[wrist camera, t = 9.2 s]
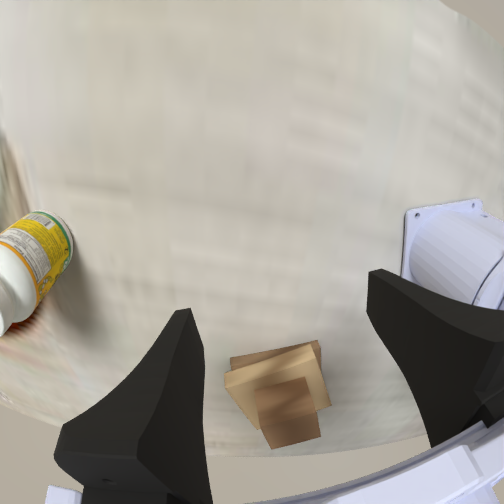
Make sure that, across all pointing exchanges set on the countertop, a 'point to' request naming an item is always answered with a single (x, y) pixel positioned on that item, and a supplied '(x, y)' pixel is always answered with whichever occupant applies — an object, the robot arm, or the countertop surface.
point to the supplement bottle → (31, 263)
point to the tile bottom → (272, 355)
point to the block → (287, 413)
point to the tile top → (276, 379)
